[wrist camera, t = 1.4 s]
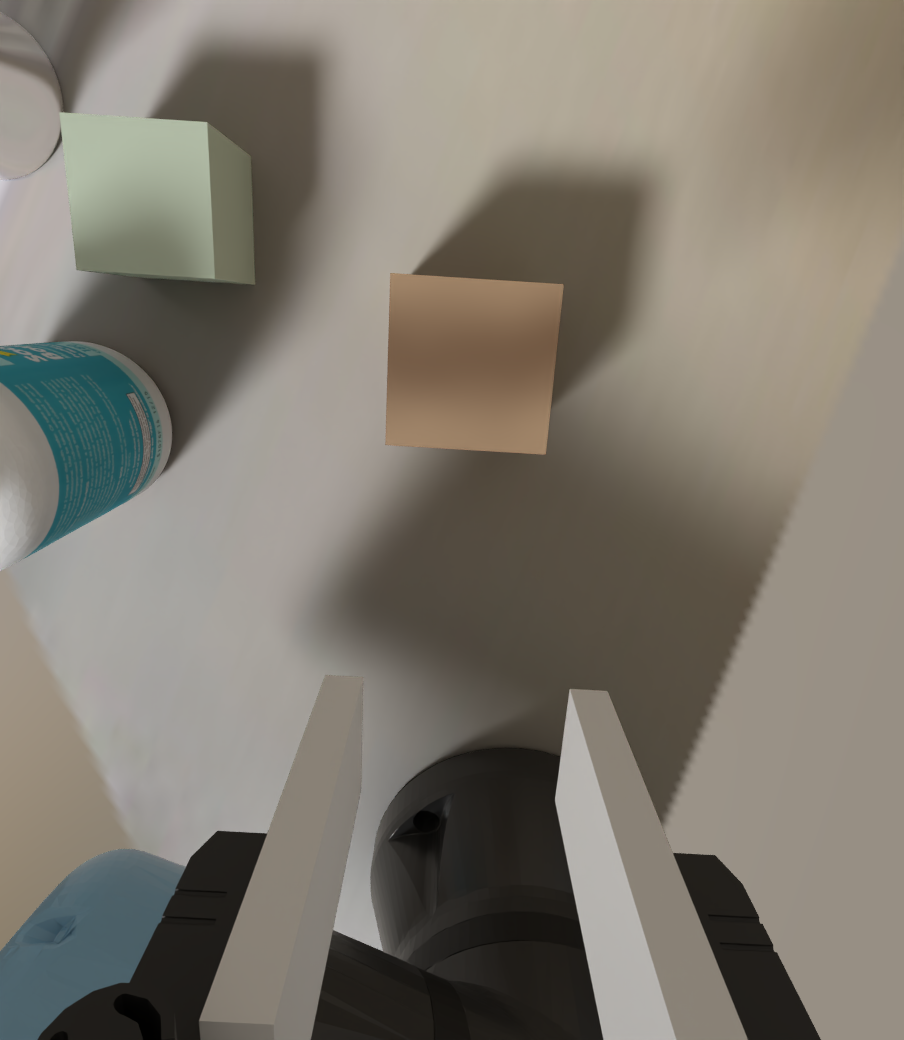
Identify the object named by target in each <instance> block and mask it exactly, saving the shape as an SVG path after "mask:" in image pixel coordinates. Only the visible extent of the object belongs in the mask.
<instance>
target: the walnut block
mask: <svg viewBox="0 0 904 1040" xmlns="http://www.w3.org/2000/svg"><path fill="white" fill-rule="evenodd" d="M563 287H564V284H552V283H536V282H520V281H505V280H489V279H473V278H458V277H442V276H426V275H411V274H395V273H390V305H389V339H388V374H387V409H386V443H385V445H394V446H411V447H427V448H444V449H460V450H477V451H493V452H510V453H526V454H543V455H546V447H547V438H548V429H549V419H550V410H551V400H552V391H553V381H554V372H555V363H556V353H557V344H558V334H559V325H560V316H561V306H562V297H563Z"/></svg>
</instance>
